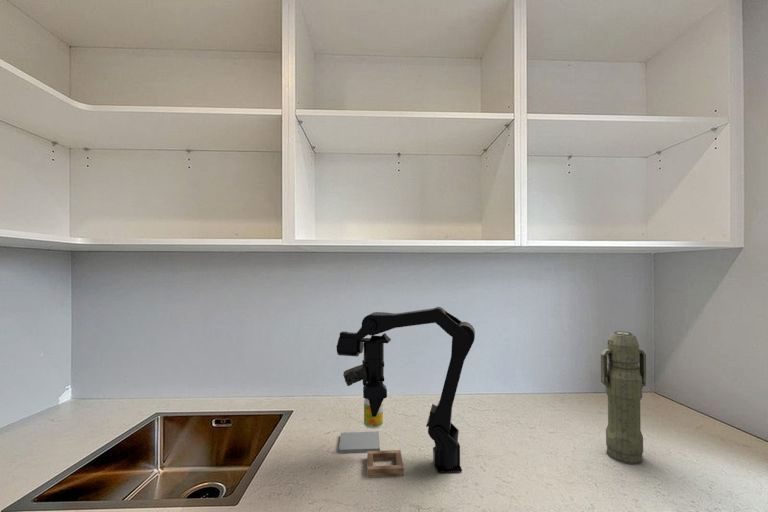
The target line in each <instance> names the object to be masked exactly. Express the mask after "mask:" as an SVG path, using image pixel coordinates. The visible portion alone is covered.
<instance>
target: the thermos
mask: <svg viewBox="0 0 768 512" xmlns="http://www.w3.org/2000/svg"><path fill="white" fill-rule="evenodd" d="M609 334H610V335H609V337H608V339H607V348H605V349H604V348H603V350H602V352H601V353H600V382H601V384H603V385H604V386H605V394H606V395H607V423H608V424H607V426H606V428H605V445H606V448H607V449H606V455H607V456H608V457H609V458H611V459H612V460H614V461H616V462H618V463H622V464H626V465H631V466H632V465H633V466H634V465H641V464H642V463H643V459H644V458H643V453H644V435H643V433H642V431H641V430H642V429H641V428H642V427H641V424H642V423H641V400H642V398H643V389H644V387H646V386H647V385H646V384H647V354H646V353H645V351H644V350H643V349H641V348H640V344H639V341H638V338H637V336H636V334H633V332H628V331H621V330H618V331H617V330H615V331H613V332H610V333H609Z"/></svg>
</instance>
